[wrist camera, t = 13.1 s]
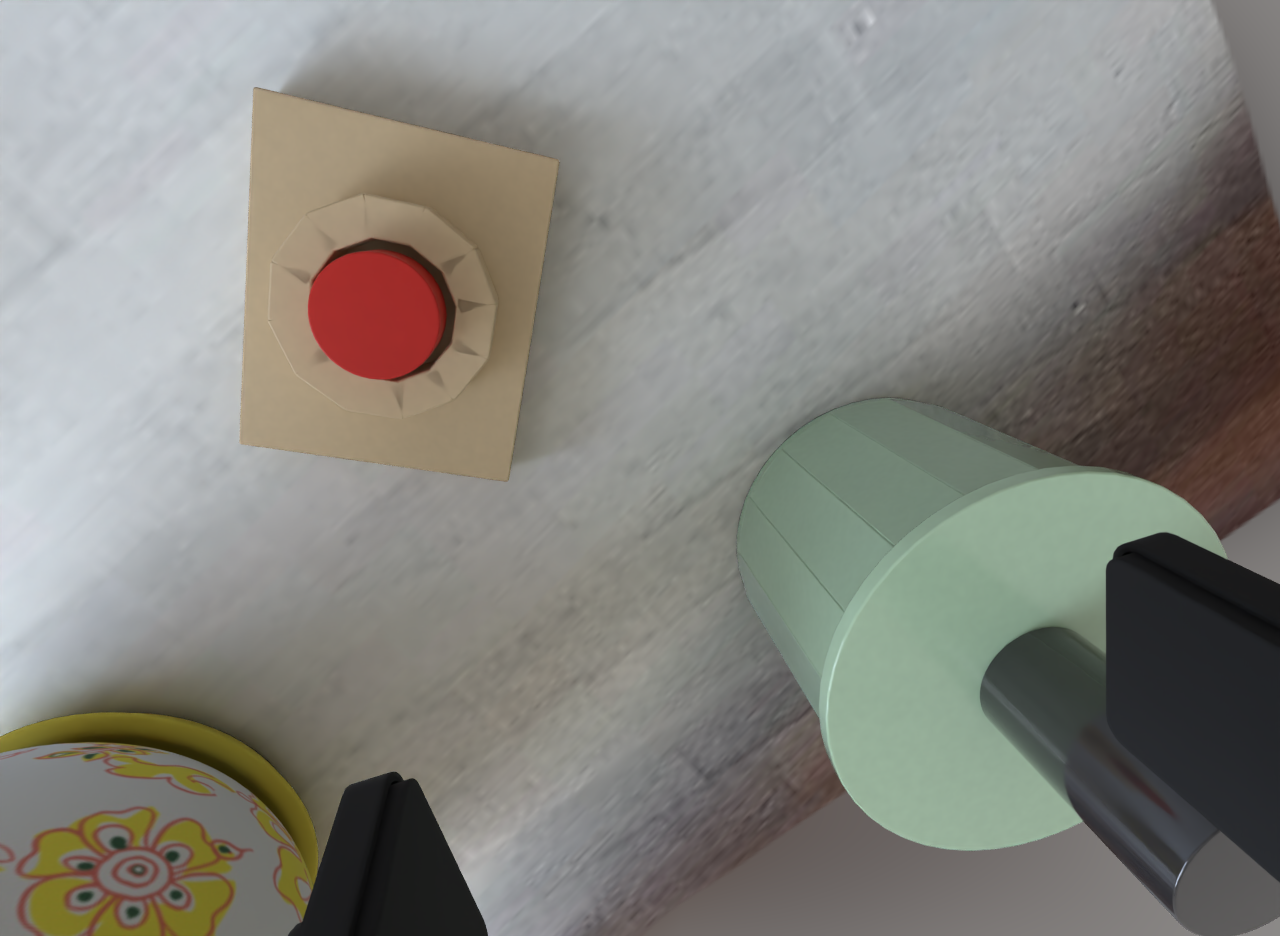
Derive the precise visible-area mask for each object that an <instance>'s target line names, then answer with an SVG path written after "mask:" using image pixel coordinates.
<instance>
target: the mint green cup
mask: <svg viewBox="0 0 1280 936" xmlns="http://www.w3.org/2000/svg"><path fill="white" fill-rule="evenodd" d="M1063 466H1079V465H1077V464H1075V463H1072V462H1070V461H1068V460H1065V459H1063V458H1060V457H1058V456H1056V455H1053V454H1051V453H1049V452H1046V451H1044V450H1042V449H1039V448H1037V447H1035V446H1032V445H1030V444H1028V443H1025V442H1023V441H1021V440H1018V439H1016V438H1014V437H1011V436H1009V435H1007V434H1004V433H1002V432H1000V431H997V430H995V429H992V428H990V427H988V426H985V425H983V424H981V423H978V422H976V421H974V420H971V419H969V418H967V417H964V416H962V415H960V414H957V413H955V412H953V411H950V410H948V409H946V408H943V407H941V406H938V405H932V404H926V403H923V402H918V401H914V400H909V399H899V398H880V399H869V400H864V401H859V402H854V403H851V404H848V405H845V406H842V407H839V408H836V409H834V410H832V411H830V412H827V413H825V414H823V415H821V416H819V417H817V418H816V419H814V420H813V421H811V422H809V423H808V424H806V425H805V426H803V427H802V428H800V429H799V430H798V431H797V432H795V433H794V434H793V435H792V436H790V437H789V438H788V439H787V440H786V441H785V442H784V443H783V444H782V445H781V446H780V447H779V448H778V449H777V450H776V451H775V452H774V453H773V454H772V456H771V457H770V458H769V460H768V461H767V462H766V463H765V465H764V466H763V467H762V469H761V470H760V472H759V474H758V475H757V477H756V479H755V481H754V482H753V484H752V486H751V488H750V490H749V493H748V495H747V497H746V500H745V502H744V506H743V509H742V512H741V516H740V520H739V526H738V533H737V559H738V566H739V571H740V575H741V578H742V582H743V585H744V587H745V591H746V596H747V598H748V600H749V602H750V603H751V605H752V607H753V609H754V610H755V612H756V614H757V615H758V617H759V619H760V620H761V622H762V624H763V625H764V627H765V629H766V630H767V632H768V634H769V635H770V637H771V639H772V640H773V642H774V644H775V645H776V647H777V649H778V650H779V652H780V654H781V656H782V657H783V659H784V661H785V662H786V664H787V666H788V667H789V669H790V671H791V672H792V674H793V676H794V677H795V679H796V681H797V682H798V684H799V686H800V687H801V689H802V691H803V692H804V694H805V696H806V697H807V699H808V701H809V702H810V704H811V706H812V708H813V709H814V711H815V713H816V714H817V716H818V718H819V719H820V715H819V697H820V682H821V677H822V672H823V667H824V663H825V658H826V655H827V652H828V649H829V646H830V643H831V640H832V637H833V635H834V632H835V630H836V628H837V626H838V624H839V622H840V619H841V617H842V615H843V613H844V611H845V609H846V607H847V605H848V604H849V602H850V601H851V599H852V598H853V596H854V595H855V593H856V592H857V590H858V589H859V587H860V585H861V584H862V582H863V581H864V580H865V578H866V577H867V576H868V575H869V574H870V572H871V571H872V570H873V569H874V567H875V566H876V565H877V564H878V563H879V561H880V560H881V559H882V558H883V557H884V556H885V555H886V554H887V553H888V552H889V551H890V550H891V549H892V548H893V547H894V546H895V545H896V544H897V543H898V542H899V541H900V540H901V539H902V538H903V537H904V536H905V535H906V534H907V533H909V532H910V531H911V530H913V529H914V528H915V527H916V526H918V525H919V524H920V523H921V522H923V521H924V520H925V519H927V518H928V517H929V516H930V515H932V514H933V513H935V512H937V511H938V510H940V509H941V508H943V507H945V506H946V505H948V504H949V503H951V502H953V501H954V500H956V499H957V498H959V497H961V496H964V495H966V494H968V493H970V492H972V491H974V490H976V489H978V488H980V487H982V486H984V485H986V484H989V483H992V482H995V481H998V480H1001V479H1004V478H1007V477H1009V476H1012V475H1015V474H1020V473H1024V472H1029V471H1033V470H1038V469H1043V468H1052V467H1063Z"/></svg>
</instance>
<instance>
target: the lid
mask: <svg viewBox="0 0 1280 936" xmlns="http://www.w3.org/2000/svg"><path fill="white" fill-rule="evenodd" d="M1159 532H1168V533H1171V534H1175V535H1177V536H1179V537H1181V538H1183V539H1186V540H1188V541H1190V542H1192V543H1194V544H1196V545H1198V546H1200V547H1202V548H1204V549H1207V550H1209V551H1211V552H1213V553H1215V554H1217V555H1219V556H1221V557H1223V558H1225V559H1228V558H1227V555H1226V552H1225V550H1224V548H1223V546H1222V544H1221V542H1220V540H1219V538H1218V536H1217V535H1216V533H1215V531H1214V530H1213V529H1212V527H1211V526H1210V525H1209V524H1208V522H1207V521H1206V520H1205V518H1204V517H1203V516H1202V515H1201V514H1200V513H1199V512H1198V511H1197V510H1196V509H1195V508H1194V507H1193V506H1191V505H1190V504H1189V503H1188V502H1187V501H1186V500H1185V499H1183V498H1182V497H1180V496H1178V495H1177V494H1175V493H1173V492H1172V491H1170V490H1168V489H1167V488H1165V487H1163V486H1161V485H1158V484H1156V483H1153V482H1151V481H1148V480H1146V479H1143V478H1141V477H1138V476H1135V475H1133V474H1130V473H1127V472H1123V471H1119V470H1114V469H1109V468H1104V467H1092V466H1063V467H1052V468H1043V469H1038V470H1033V471H1029V472H1024V473H1020V474H1015V475H1012V476H1009V477H1007V478H1004V479H1001V480H998V481H995V482H992V483H989V484H986V485H984V486H982V487H980V488H978V489H976V490H974V491H972V492H970V493H968V494H966V495H964V496H961V497H959V498H957V499H956V500H954V501H953V502H951V503H949V504H948V505H946V506H945V507H943V508H941V509H940V510H938V511H937V512H935V513H933V514H932V515H930V516H929V517H928V518H927V519H925V520H924V521H923V522H921V523H920V524H919V525H918V526H916V527H915V528H914V529H913V530H911V531H910V532H909V533H907V534H906V535H905V536H904V537H903V538H902V539H901V540H900V541H899V542H898V543H897V544H896V545H895V546H894V547H893V548H892V549H891V550H890V551H889V552H888V553H887V554H886V555H885V556H884V557H883V558H882V559H881V560H880V561H879V563H878V564H877V565H876V566H875V567H874V569H873V570H872V571H871V572H870V574H869V575H868V576H867V577H866V578H865V580H864V581H863V582H862V584H861V585H860V587H859V589H858V590H857V592H856V593H855V595H854V596H853V598H852V599H851V601H850V602H849V604H848V605H847V607H846V609H845V611H844V613H843V615H842V617H841V619H840V622H839V624H838V626H837V628H836V630H835V632H834V635H833V637H832V640H831V643H830V646H829V649H828V652H827V655H826V658H825V663H824V667H823V672H822V677H821V682H820V697H819V715H820V726H821V733H822V737H823V741H824V745H825V749H826V753H827V755H828V757H829V759H830V762H831V764H832V766H833V768H834V771H835V773H836V774H837V776H838V778H839V780H840V781H841V783H842V785H843V786H844V788H845V789H846V791H847V792H848V794H849V795H850V797H851V798H852V799H853V801H854V802H855V803H856V804H857V805H858V806H859V807H860V808H861V809H862V810H863V811H864V812H865V813H866V814H867V815H868V816H869V817H870V818H872V819H873V820H874V821H876V822H877V823H879V824H880V825H881V826H883V827H884V828H885V829H887V830H889V831H891V832H893V833H896V834H897V835H899V836H901V837H903V838H905V839H908V840H911V841H914V842H917V843H920V844H923V845H926V846H932V847H937V848H942V849H948V850H965V851H973V850H993V849H999V848H1005V847H1011V846H1017V845H1021V844H1024V843H1029V842H1032V841H1036V840H1040V839H1043V838H1046V837H1048V836H1051V835H1054V834H1056V833H1059V832H1061V831H1064V830H1067V829H1069V828H1071V827H1073V826H1075V825H1077V824H1079V823H1081V822H1083V821H1084V822H1085V824H1086V825H1087V826H1088V827H1089V828H1090V829H1091V830H1092V831H1093V832H1094V833H1095V834H1096V835H1097V836H1098V837H1099V838H1100V839H1101V841H1102V842H1103V843H1104V844H1105V845H1106V846H1107V847H1108V848H1109V849H1110V850H1111V851H1112V852H1113V853H1114V854H1115V855H1116V857H1117V858H1118V859H1119V860H1120V861H1121V862H1122V863H1123V864H1124V865H1125V866H1126V867H1127V868H1128V869H1129V870H1130V871H1131V872H1132V874H1133V875H1134V876H1135V877H1136V878H1137V879H1138V880H1139V881H1140V882H1141V883H1142V884H1143V885H1144V886H1145V887H1146V888H1147V889H1148V891H1149V892H1150V893H1151V894H1152V895H1153V896H1154V897H1155V898H1156V899H1157V900H1158V901H1159V902H1160V903H1161V904H1162V905H1163V907H1165V909H1166V910H1167V911H1168V912H1169V913H1170V914H1171V915H1172V916H1173V917H1174V918H1175V919H1176V920H1177V921H1178V923H1180V925H1182V926H1183V927H1184V928H1185V929H1186V930H1188V931H1190V932H1192V933H1194V934H1196V935H1199V936H1237V935H1240V934H1243V933H1247V932H1250V931H1253V930H1255V929H1258V928H1260V927H1262V926H1264V925H1266V924H1268V923H1270V922H1271V921H1273V920H1275V919H1277V918H1278V917H1280V883H1279V882H1278V881H1277V880H1276V879H1275V878H1274V877H1273V876H1271V875H1270V874H1269V873H1268V872H1267V871H1266V870H1265V869H1263V868H1262V867H1261V866H1260V865H1259V864H1258V863H1256V862H1255V861H1254V860H1253V859H1252V858H1251V857H1250V856H1248V855H1247V854H1246V853H1245V852H1244V851H1243V850H1242V849H1240V848H1239V847H1238V846H1237V845H1236V844H1235V843H1234V842H1232V841H1231V840H1230V839H1229V838H1228V837H1227V836H1225V835H1224V834H1223V833H1222V832H1221V831H1220V830H1219V829H1217V828H1216V827H1215V826H1214V825H1213V824H1212V823H1211V822H1209V821H1208V820H1207V819H1206V818H1205V817H1204V816H1203V815H1201V814H1200V813H1199V812H1198V811H1197V810H1196V809H1195V808H1193V807H1192V806H1191V805H1190V804H1189V803H1188V802H1186V801H1185V800H1184V799H1183V798H1182V797H1181V796H1180V795H1178V794H1177V793H1176V792H1175V791H1174V790H1173V789H1172V788H1170V787H1169V786H1168V785H1167V784H1166V783H1165V782H1164V781H1162V780H1161V779H1160V778H1159V777H1158V776H1157V775H1156V774H1154V773H1153V772H1152V771H1151V770H1150V769H1149V768H1147V767H1146V766H1145V765H1144V764H1143V763H1142V762H1141V761H1139V760H1138V759H1137V758H1136V757H1135V756H1134V755H1133V754H1131V753H1130V752H1129V751H1128V750H1127V749H1126V748H1125V747H1123V746H1122V745H1121V744H1120V743H1119V741H1118V740H1117V739H1116V738H1115V736H1114V735H1113V733H1112V731H1111V729H1110V728H1109V725H1108V722H1107V717H1106V566H1107V564H1108V562H1109V561H1110V560H1112V559H1113V554H1114V551H1115V550H1116V548H1117V547H1118V546H1120V545H1122V544H1124V543H1127V542H1131V541H1134V540H1137V539H1140V538H1143V537H1147V536H1150V535H1153V534H1156V533H1159Z"/></svg>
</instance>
